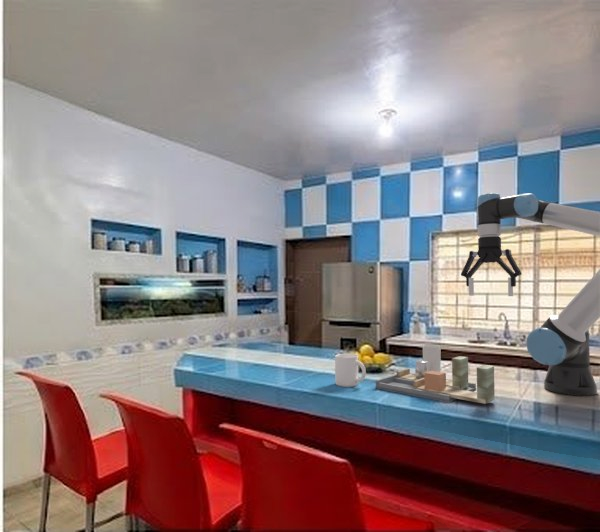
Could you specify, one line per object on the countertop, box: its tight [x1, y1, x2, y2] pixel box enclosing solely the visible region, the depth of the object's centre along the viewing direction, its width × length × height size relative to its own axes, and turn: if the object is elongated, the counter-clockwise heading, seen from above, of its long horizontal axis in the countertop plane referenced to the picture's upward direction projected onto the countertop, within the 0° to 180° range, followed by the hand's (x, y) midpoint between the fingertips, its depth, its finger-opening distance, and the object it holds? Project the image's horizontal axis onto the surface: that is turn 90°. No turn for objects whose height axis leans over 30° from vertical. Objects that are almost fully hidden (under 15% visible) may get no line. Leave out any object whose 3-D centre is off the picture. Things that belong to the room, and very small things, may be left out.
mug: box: [334, 353, 367, 388], centre depth 153 cm, size 12×8×10 cm
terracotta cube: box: [424, 371, 447, 391], centre depth 139 cm, size 5×5×5 cm
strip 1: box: [396, 355, 469, 389], centre depth 151 cm, size 24×8×10 cm, turn 47°
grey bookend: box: [422, 344, 442, 372], centre depth 168 cm, size 10×7×12 cm, turn 140°
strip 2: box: [413, 364, 496, 405], centre depth 136 cm, size 24×8×10 cm, turn 47°
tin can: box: [414, 360, 428, 379], centre depth 154 cm, size 4×4×6 cm
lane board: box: [375, 372, 477, 403], centre depth 147 cm, size 26×22×3 cm
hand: (490, 295), depth 154 cm, fingers open, 13 cm apart
